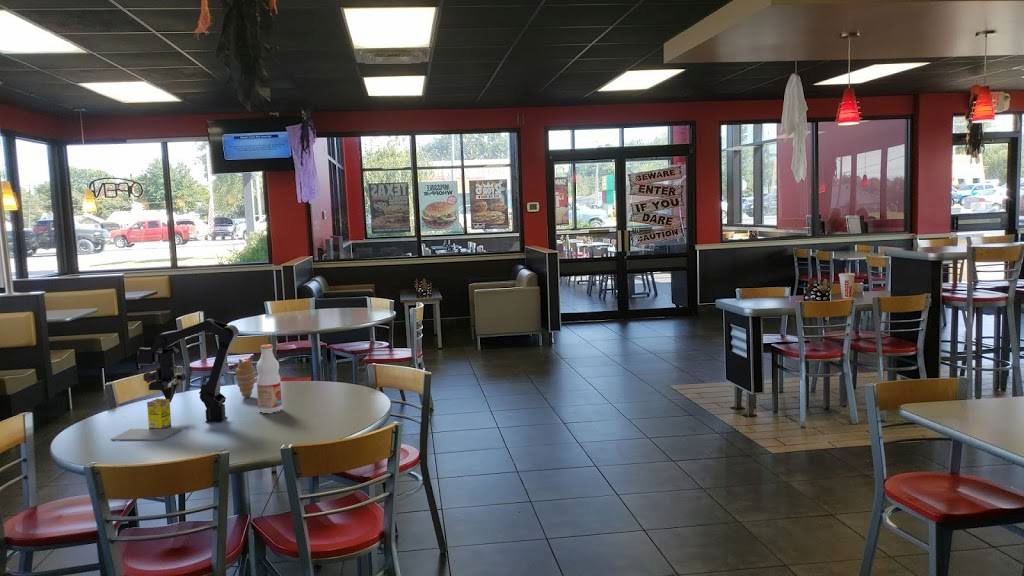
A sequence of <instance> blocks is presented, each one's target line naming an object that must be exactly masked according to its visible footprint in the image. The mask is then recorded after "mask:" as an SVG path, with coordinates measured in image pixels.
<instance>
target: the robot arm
mask: <svg viewBox="0 0 1024 576" xmlns="http://www.w3.org/2000/svg"><path fill="white" fill-rule="evenodd" d="M204 331H208V332H210V333H211V334H213V335H214V336H217V337H218V340H217V341H218V343H217V344H218V348H217V350H216V355H215V359H214V361H213V363H212V364H213V366H212V367H211V368H212V369H211V371H210V375H209V377H208V378H209V379H208V380H206V381H205V382H203V383H201V386H200V391H199V392H198V394H199V399H200V401H201V402H202V403H203V404H204V406H205V408H206V409H204V410H205V419H206V420H205V423H222V422H223V420H224V421H225V420H227V419H228V416H226V405H225V404H224V403H226V399H227V398H226V396H225V395H223V394H222V393H221V379H222V376H223V372H224V369H225V366H226V362H227V360H228V357H229V353H230V350H231V348H232V346H233V345H234V343H235V341H236V340H237V338H238V336H239V333H240V331H239V329H238V327H237V326H236V325H234V324H227V323H224V322H220V321H218V320H215V319H213V318H208V319H205V320H203V321H200V322H199V323H198V322H197V323H195V324H192V325H190V326H187V327H184V328H182V329H178V330H171V331H166V332H165V331H164V332H162V333H160V334H158V335H156V336H155V338H154V343H153V345H152V346H151V347H139V348H138V353H137V355H136V362H137V365H138V366H151V365H155V364H156V363H158V367H156V368H155V371H154V372H152V373H151V372H149V371H148V372H145V373H143V381H144V382H146V384H148V385H147V387H148V391H161V392H162V395H164V399H170V403H172V400H173V398H174V396H175V393H176V391H177V389H178V386H179V385H180V383H177V382H176V381H182V382H184V381H186V380H187V375H186V374H185V373H184V372H176V370H175V369H177V366H178V365H176V364H175V355H174V354H177V353H178V352H180V349H178V348H176V347H175V346H173V345H174V344H175V343H178V342H180V341H181V340H182V339H185V338H188V337H191V336H193V335H197V334H199V333H201V332H204ZM170 346H171V347H170ZM168 347H170V348H168ZM226 418H227V419H226ZM221 421H222V422H221Z"/></svg>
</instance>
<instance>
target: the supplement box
mask: <svg viewBox="0 0 1024 576" xmlns="http://www.w3.org/2000/svg"><path fill="white" fill-rule="evenodd" d="M170 403H171V402H170V399H166V398H155V399H153V400H149V401H147V402H146V404H147V405H146V406H147V420H148V429H168V428H169V427H172V417H171V416H172V415H171V414H172V413H171V404H170Z"/></svg>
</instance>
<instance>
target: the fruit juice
mask: <svg viewBox="0 0 1024 576" xmlns="http://www.w3.org/2000/svg"><path fill="white" fill-rule="evenodd" d="M273 349H274V345H273V344H269V343H268V344H262V345H260V351H261V354H260V358H259V360H258V361H257V363H256V371H257V376H256V388H257V389H256V392H257V405H258V406H257V409H258V413H260V412H263V413H267V412H275V411H278V410H280V409H283V404H282V387H281V376H280V373H279V369H280V363H279V361H278V360H277V359H276V358H275V355H274V351H273ZM263 413H262V414H263Z"/></svg>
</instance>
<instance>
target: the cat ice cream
mask: <svg viewBox="0 0 1024 576" xmlns="http://www.w3.org/2000/svg"><path fill="white" fill-rule="evenodd" d="M238 363H239V364H238V365H237V368H235V370H234V375H236V376H235V380H236V382H237V387H238V388H239V391H240V393H241V396H242V397H243V398H245V399H248V398H250V397H251V396H252V394H253V389H254V387H255V385H254V384H255V383H256V373H255V372H256V371H255V367H254V365H253V363H252V361H251V357H248V358H247V359H240V358H238Z"/></svg>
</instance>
